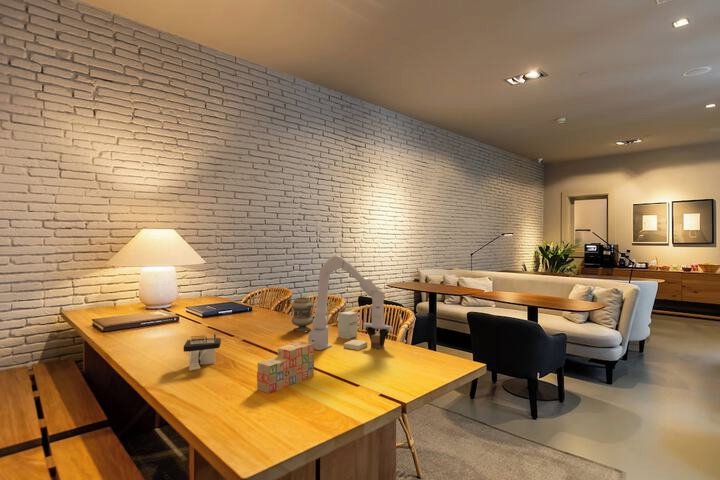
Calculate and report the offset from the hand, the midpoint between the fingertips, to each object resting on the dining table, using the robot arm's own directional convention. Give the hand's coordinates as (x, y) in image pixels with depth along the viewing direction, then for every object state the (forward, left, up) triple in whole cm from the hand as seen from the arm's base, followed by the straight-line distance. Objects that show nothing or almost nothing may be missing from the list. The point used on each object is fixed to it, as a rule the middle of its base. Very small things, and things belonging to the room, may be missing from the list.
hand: (377, 344), depth 186 cm
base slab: (-5, +9, -1) cm, 10 cm away
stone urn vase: (+7, +52, -2) cm, 52 cm away
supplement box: (+9, +23, -2) cm, 25 cm away
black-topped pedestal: (-63, +44, -2) cm, 77 cm away
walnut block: (0, 0, -1) cm, 1 cm away
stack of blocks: (-57, +4, -2) cm, 58 cm away
